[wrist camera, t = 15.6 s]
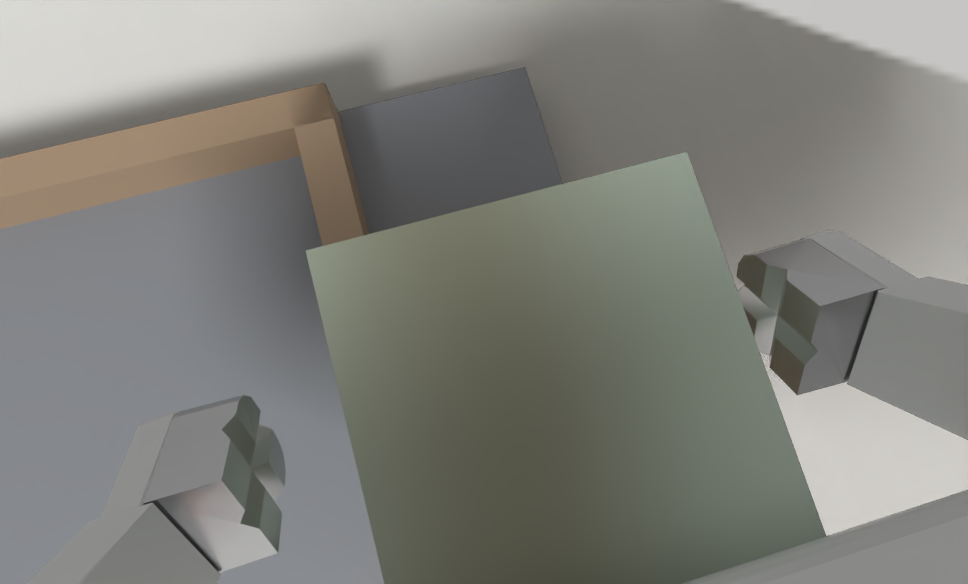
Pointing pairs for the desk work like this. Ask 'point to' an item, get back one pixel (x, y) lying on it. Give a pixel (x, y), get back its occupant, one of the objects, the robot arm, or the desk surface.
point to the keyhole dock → (219, 293)
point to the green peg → (560, 390)
